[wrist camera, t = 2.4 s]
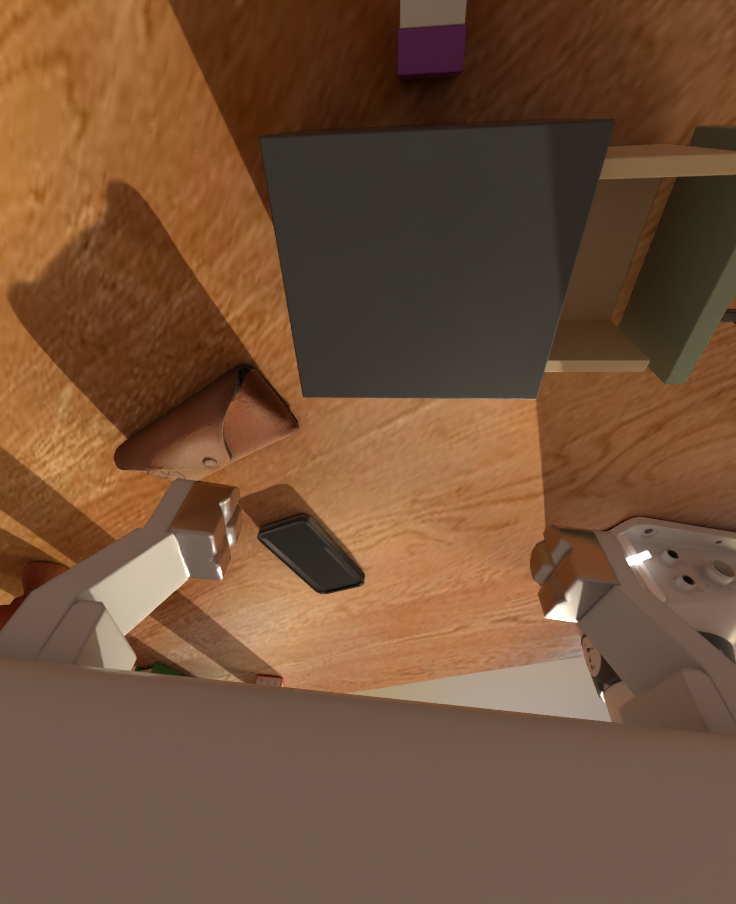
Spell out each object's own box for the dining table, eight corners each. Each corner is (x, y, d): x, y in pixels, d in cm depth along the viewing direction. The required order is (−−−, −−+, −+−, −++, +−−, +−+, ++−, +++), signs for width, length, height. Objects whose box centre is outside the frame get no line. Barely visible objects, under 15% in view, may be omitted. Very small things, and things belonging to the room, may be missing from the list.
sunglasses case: (186, 492, 45) (134, 513, 39) (158, 437, 45) (101, 449, 39) (306, 426, 38) (265, 440, 32) (272, 360, 37) (225, 360, 31)
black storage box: (552, 118, 22) (617, 119, 16) (508, 336, 31) (537, 399, 24) (301, 130, 24) (257, 136, 17) (325, 337, 32) (302, 397, 25)
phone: (320, 595, 56) (253, 535, 48) (321, 588, 57) (255, 528, 49) (368, 584, 54) (305, 519, 45) (368, 577, 54) (307, 511, 46)
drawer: (813, 120, 21) (958, 122, 15) (700, 333, 29) (770, 385, 23) (467, 136, 23) (487, 142, 17) (448, 334, 30) (457, 383, 25)
